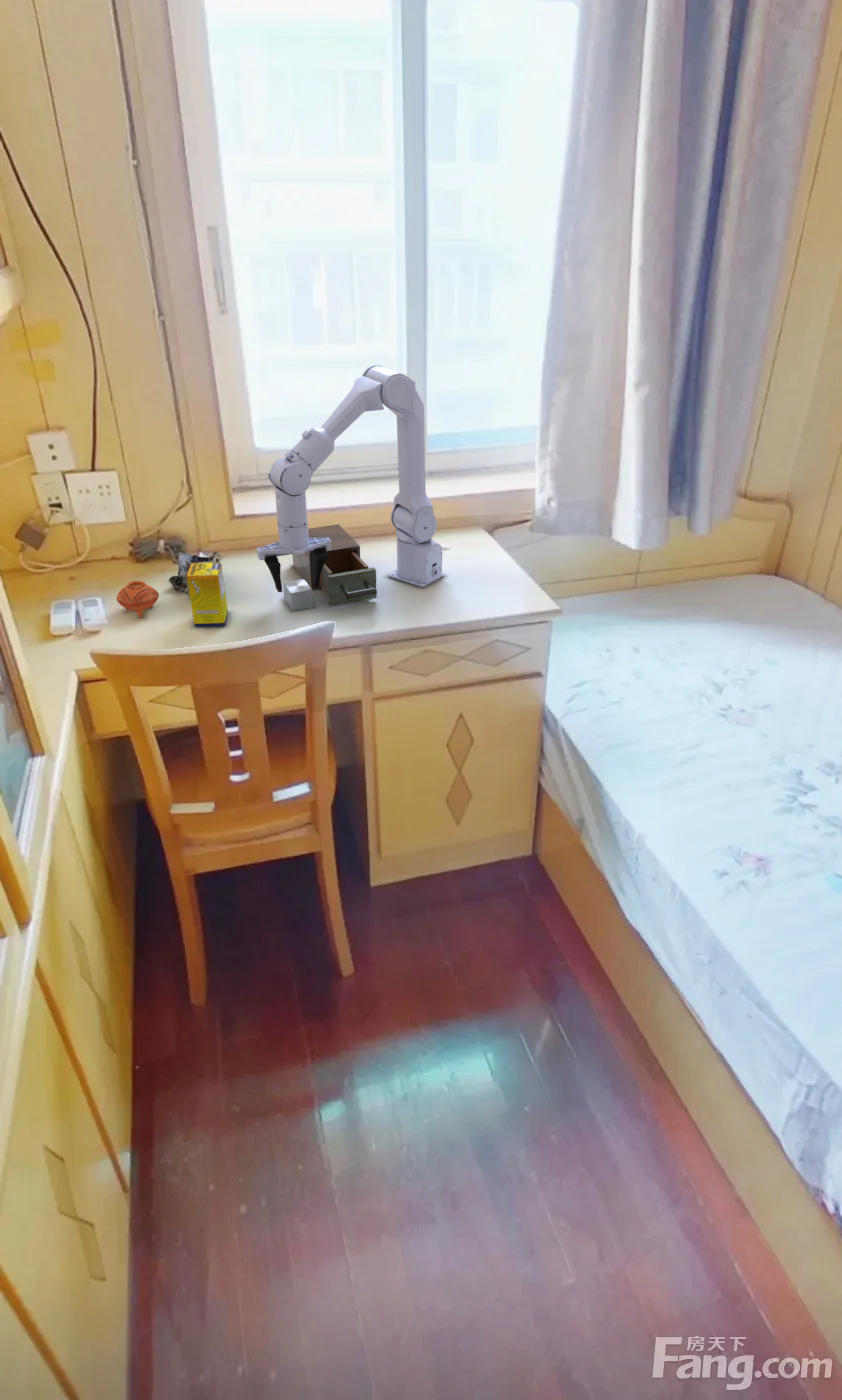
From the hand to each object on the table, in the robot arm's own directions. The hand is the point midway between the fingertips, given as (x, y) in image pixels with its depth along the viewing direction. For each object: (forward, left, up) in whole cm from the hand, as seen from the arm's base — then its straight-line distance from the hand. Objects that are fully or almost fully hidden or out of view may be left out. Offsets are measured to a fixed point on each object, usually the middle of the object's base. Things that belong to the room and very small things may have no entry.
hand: (297, 587), depth 167 cm
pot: (+22, +22, -4) cm, 32 cm away
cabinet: (+5, -15, -4) cm, 16 cm away
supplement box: (+8, +16, -4) cm, 18 cm away
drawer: (-7, -8, -3) cm, 11 cm away
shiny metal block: (0, 0, -4) cm, 4 cm away
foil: (+22, +7, -4) cm, 23 cm away
